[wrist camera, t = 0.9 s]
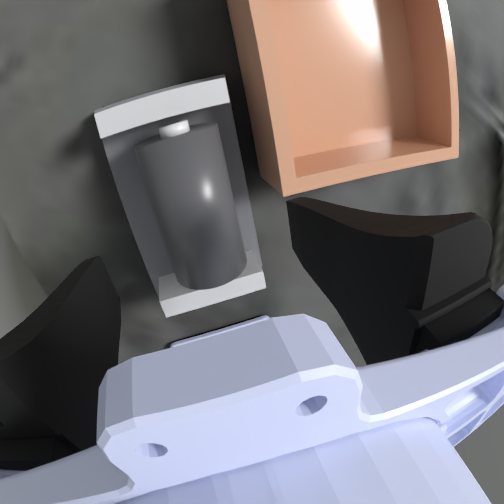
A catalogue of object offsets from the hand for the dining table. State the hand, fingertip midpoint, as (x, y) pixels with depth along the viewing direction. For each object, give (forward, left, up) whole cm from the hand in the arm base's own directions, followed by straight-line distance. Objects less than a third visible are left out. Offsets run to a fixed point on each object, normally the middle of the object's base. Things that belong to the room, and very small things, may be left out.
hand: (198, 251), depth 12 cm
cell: (0, 0, -5) cm, 5 cm away
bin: (+6, -11, -8) cm, 15 cm away
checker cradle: (0, 0, -8) cm, 8 cm away
